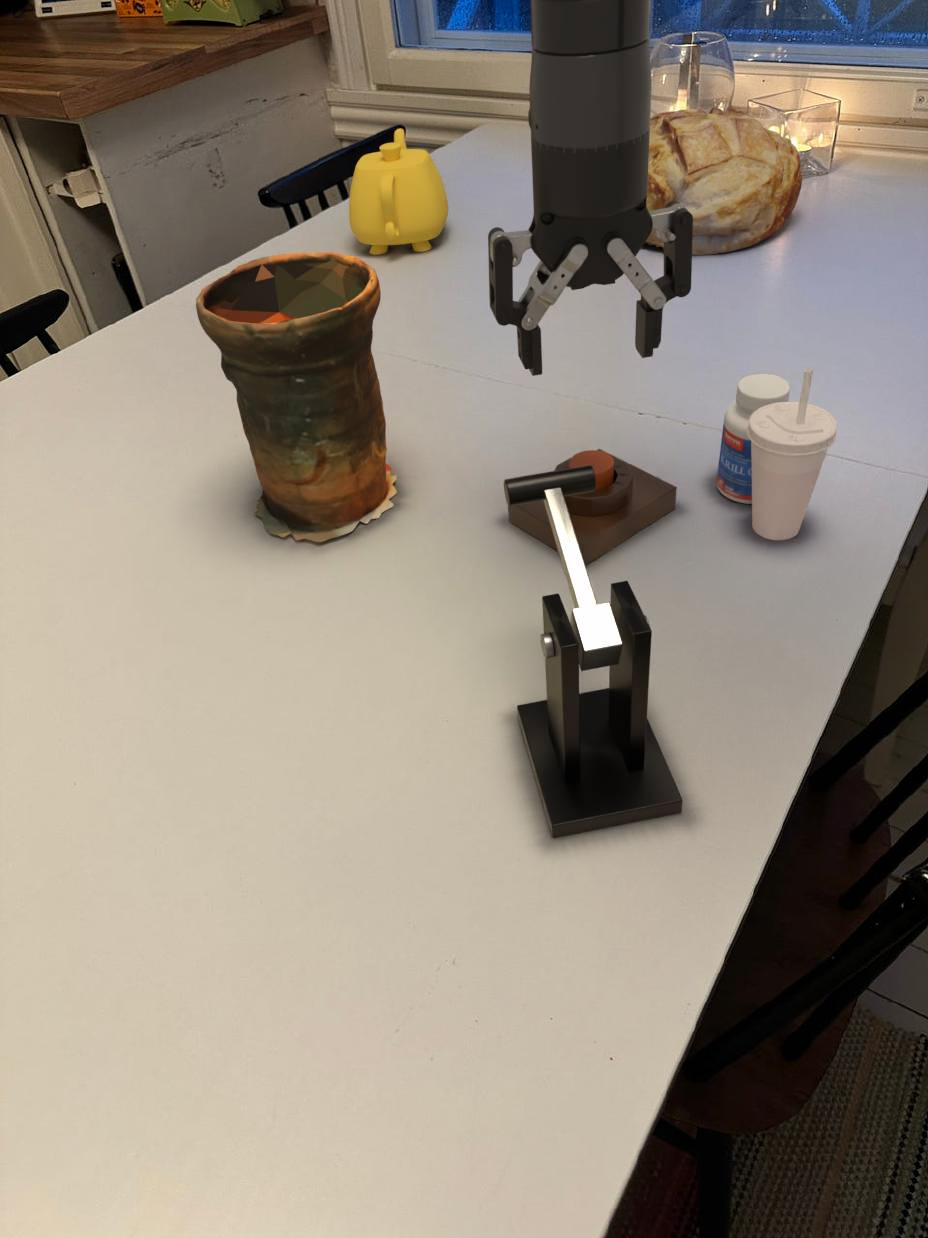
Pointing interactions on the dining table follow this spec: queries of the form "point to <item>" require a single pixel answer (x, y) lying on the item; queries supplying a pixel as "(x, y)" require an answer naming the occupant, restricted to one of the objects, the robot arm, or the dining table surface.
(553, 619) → the switch bracket
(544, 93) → the robot arm
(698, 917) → the dining table surface
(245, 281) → the vessel
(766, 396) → the pill bottle
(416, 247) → the teapot
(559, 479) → the switch
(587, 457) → the button
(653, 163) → the bread
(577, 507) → the button block
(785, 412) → the smoothie
